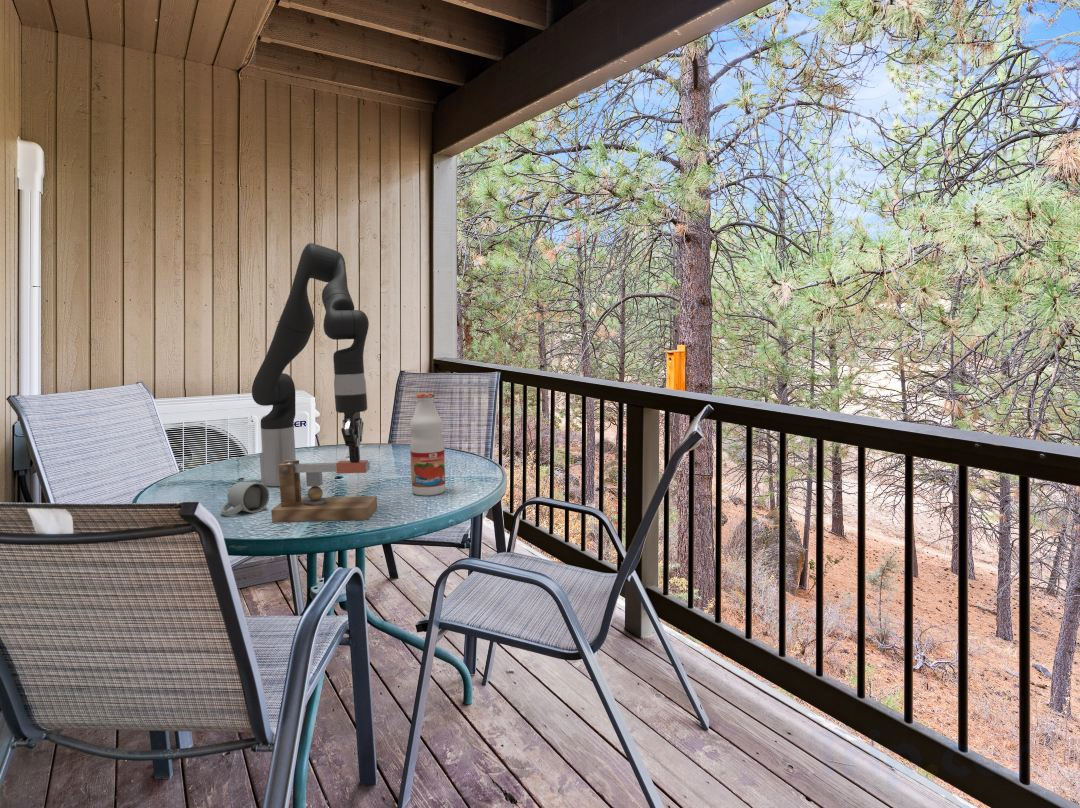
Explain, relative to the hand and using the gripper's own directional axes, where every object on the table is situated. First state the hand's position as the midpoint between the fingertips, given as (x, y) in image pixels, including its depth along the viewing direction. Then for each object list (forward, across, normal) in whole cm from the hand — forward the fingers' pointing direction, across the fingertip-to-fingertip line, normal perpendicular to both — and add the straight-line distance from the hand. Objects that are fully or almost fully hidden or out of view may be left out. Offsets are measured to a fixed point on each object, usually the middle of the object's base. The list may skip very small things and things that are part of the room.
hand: (355, 461), depth 165 cm
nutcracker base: (+13, 0, +8) cm, 15 cm away
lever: (+6, 0, +7) cm, 9 cm away
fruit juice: (+14, +21, -15) cm, 29 cm away
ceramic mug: (+13, +5, +30) cm, 33 cm away
